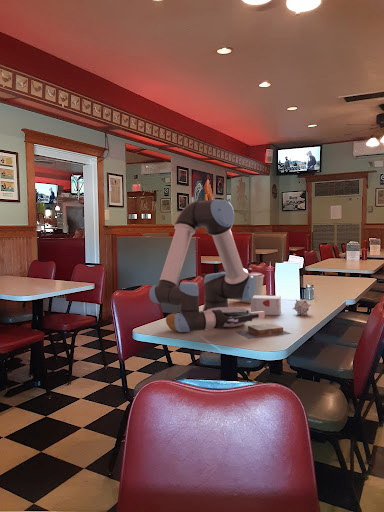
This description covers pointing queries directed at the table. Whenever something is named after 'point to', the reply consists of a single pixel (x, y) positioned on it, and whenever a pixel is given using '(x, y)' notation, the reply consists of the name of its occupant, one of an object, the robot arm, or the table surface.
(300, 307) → the game die
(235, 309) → the serving bowl
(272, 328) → the wooden block
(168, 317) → the potato
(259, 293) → the canister
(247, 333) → the rubber mat
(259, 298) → the supplement box
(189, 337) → the table surface
